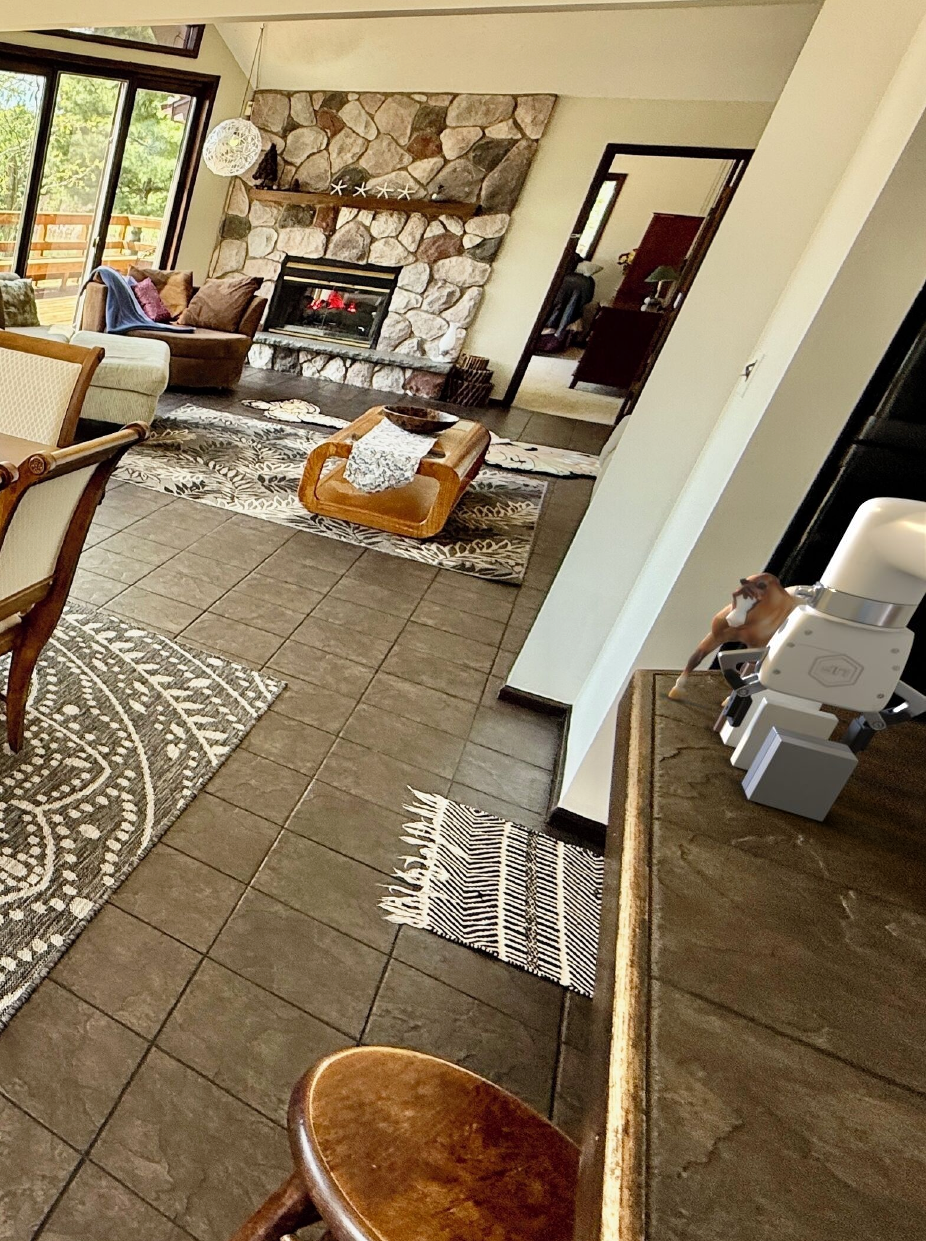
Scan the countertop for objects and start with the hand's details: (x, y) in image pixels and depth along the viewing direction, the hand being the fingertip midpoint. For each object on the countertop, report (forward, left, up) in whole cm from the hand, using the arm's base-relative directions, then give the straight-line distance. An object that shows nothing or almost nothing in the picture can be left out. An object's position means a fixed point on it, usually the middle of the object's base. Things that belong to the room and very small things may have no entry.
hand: (787, 737), depth 106 cm
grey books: (0, +8, -5) cm, 9 cm away
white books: (0, -8, -5) cm, 10 cm away
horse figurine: (-4, -25, -5) cm, 26 cm away
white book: (0, 0, -5) cm, 5 cm away
